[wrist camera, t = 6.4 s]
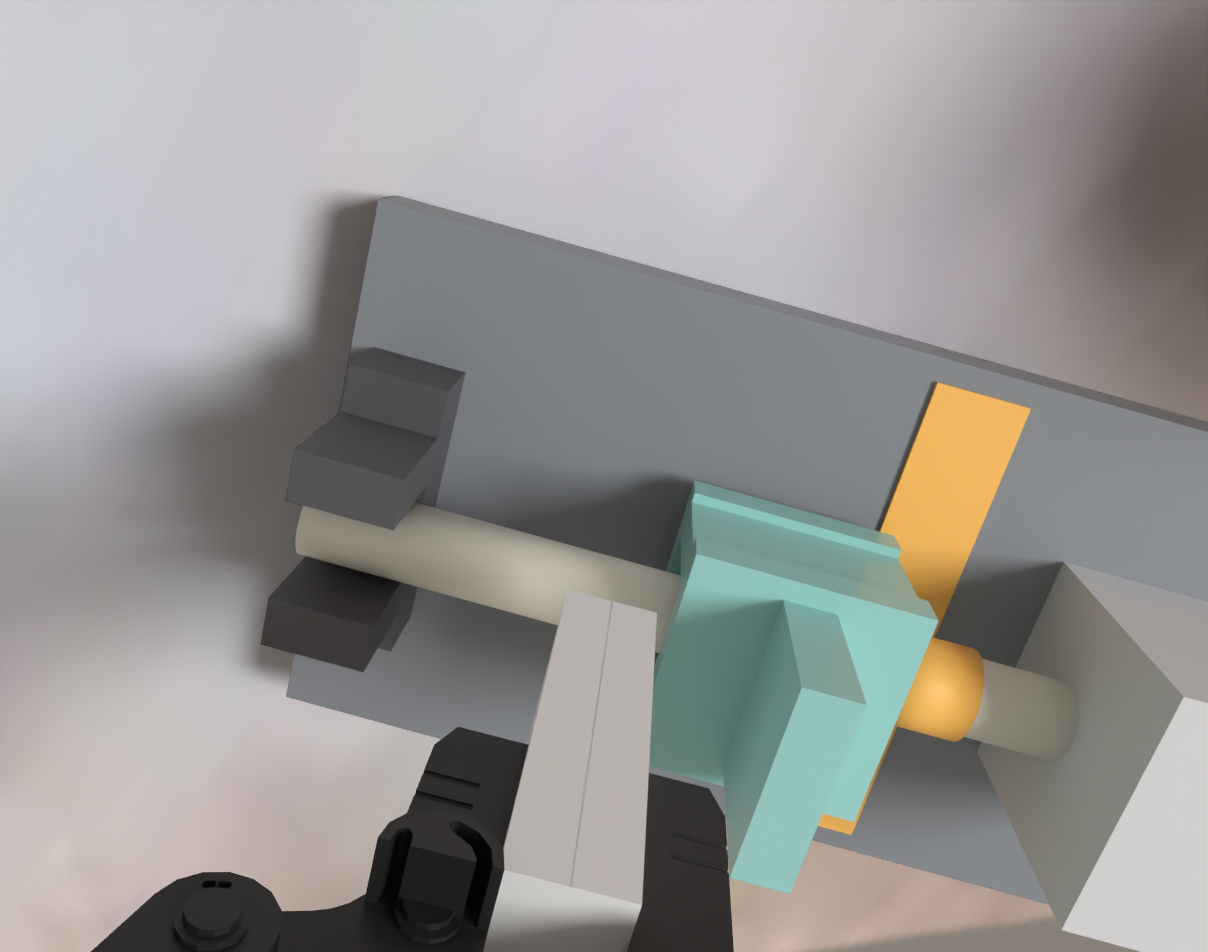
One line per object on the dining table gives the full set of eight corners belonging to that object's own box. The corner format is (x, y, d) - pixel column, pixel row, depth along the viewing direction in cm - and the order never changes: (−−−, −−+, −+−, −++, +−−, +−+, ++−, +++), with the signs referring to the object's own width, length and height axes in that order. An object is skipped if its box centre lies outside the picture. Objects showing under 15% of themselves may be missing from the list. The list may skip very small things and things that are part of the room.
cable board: (397, 196, 22) (272, 222, 15) (1278, 442, 22) (1533, 574, 16) (307, 666, 26) (176, 850, 19) (1058, 870, 26) (1187, 1123, 20)
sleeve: (694, 480, 22) (698, 633, 15) (894, 535, 22) (986, 712, 15) (638, 657, 23) (620, 869, 16) (826, 709, 23) (883, 940, 16)
